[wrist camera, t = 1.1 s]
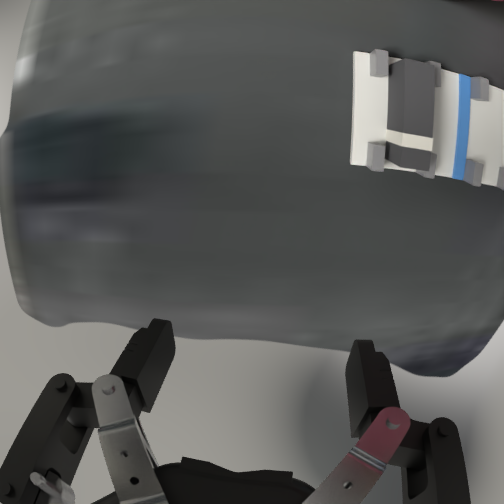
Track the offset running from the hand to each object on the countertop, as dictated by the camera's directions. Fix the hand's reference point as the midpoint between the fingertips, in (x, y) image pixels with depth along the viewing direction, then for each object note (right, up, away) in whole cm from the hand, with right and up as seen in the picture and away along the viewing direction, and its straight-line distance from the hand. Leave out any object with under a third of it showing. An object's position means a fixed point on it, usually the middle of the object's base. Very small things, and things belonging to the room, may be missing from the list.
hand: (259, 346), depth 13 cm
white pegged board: (+21, +18, +13) cm, 31 cm away
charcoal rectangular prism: (+15, +18, +13) cm, 27 cm away
